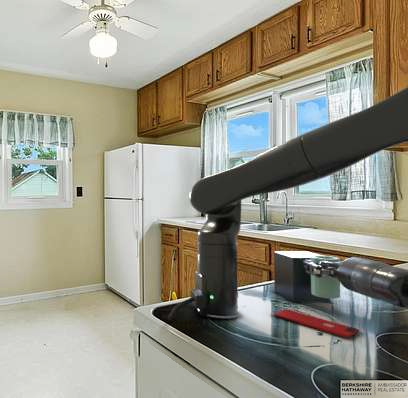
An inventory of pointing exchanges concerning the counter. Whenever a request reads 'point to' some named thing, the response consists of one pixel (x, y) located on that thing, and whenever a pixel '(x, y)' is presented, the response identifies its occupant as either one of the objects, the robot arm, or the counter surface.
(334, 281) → the jar
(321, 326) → the electronic device
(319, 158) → the robot arm
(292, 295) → the dark gray box
